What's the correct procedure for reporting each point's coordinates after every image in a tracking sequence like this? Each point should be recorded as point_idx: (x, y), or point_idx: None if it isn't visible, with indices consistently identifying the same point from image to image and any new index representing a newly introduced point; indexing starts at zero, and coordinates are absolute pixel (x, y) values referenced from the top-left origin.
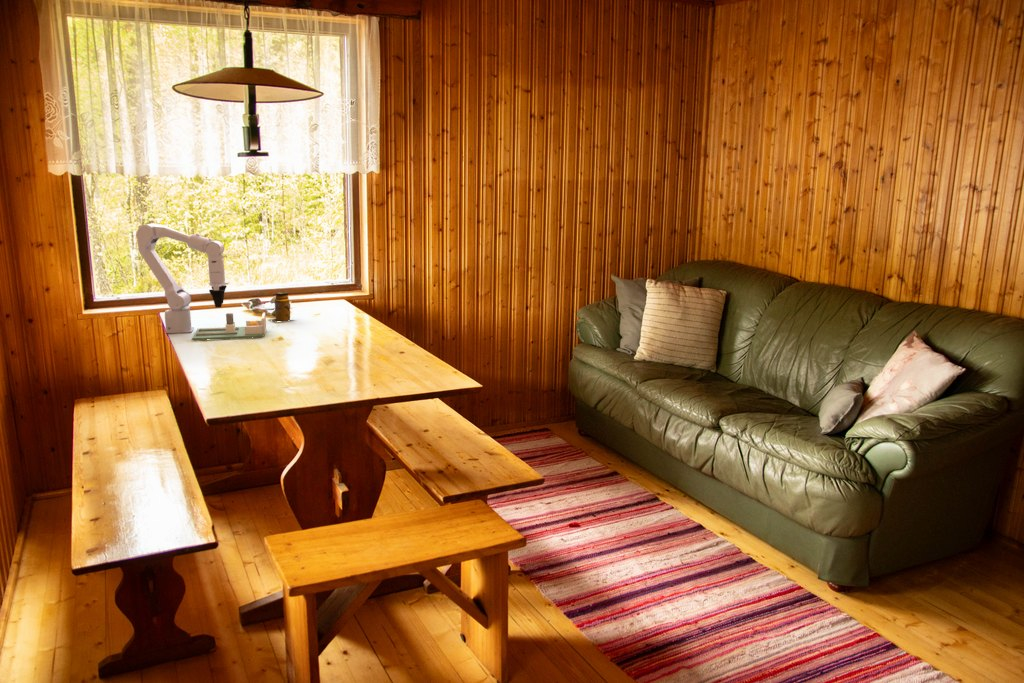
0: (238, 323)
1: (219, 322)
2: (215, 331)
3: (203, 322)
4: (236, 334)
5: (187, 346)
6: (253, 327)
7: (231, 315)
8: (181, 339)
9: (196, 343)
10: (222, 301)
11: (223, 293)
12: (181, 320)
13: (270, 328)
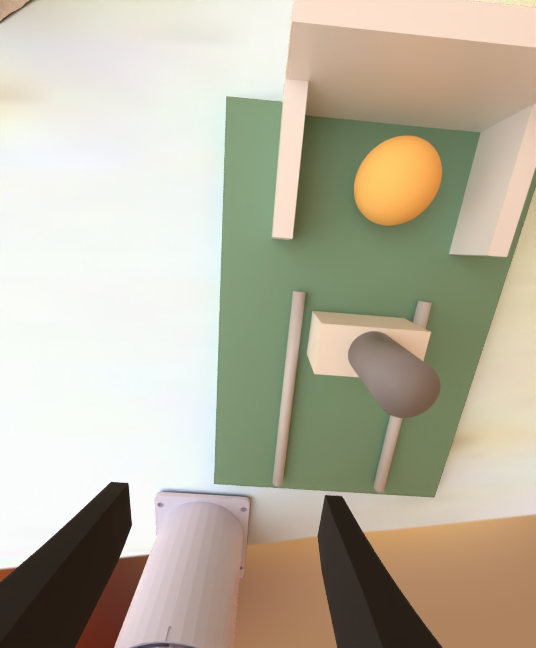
0: (43, 285)
1: (8, 385)
2: (314, 409)
3: (5, 455)
4: (444, 305)
5: (526, 498)
6: (521, 187)
7: (431, 369)
8: (376, 521)
9: (486, 471)
10: (114, 509)
11: (10, 643)
12: (236, 594)
13: (247, 63)
